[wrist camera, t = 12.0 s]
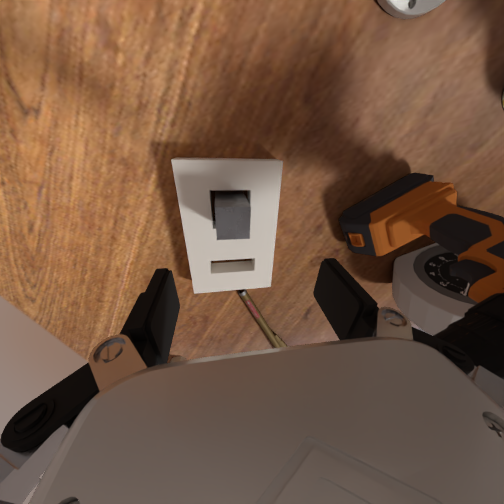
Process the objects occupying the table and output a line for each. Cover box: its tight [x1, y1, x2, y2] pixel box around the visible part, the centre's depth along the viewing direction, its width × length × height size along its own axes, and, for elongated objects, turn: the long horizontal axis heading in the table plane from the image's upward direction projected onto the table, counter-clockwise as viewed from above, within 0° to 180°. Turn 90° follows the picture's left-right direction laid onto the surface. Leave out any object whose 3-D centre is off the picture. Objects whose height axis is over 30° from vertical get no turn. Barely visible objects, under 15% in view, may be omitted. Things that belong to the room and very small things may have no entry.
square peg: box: [215, 190, 251, 240], centre depth 24 cm, size 4×4×8 cm
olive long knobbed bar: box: [238, 289, 288, 348], centre depth 44 cm, size 5×35×5 cm
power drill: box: [339, 173, 504, 380], centre depth 22 cm, size 22×7×25 cm, turn 120°
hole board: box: [171, 157, 283, 294], centre depth 28 cm, size 20×13×3 cm, turn 179°
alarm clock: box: [392, 243, 478, 335], centre depth 32 cm, size 21×8×20 cm, turn 110°
